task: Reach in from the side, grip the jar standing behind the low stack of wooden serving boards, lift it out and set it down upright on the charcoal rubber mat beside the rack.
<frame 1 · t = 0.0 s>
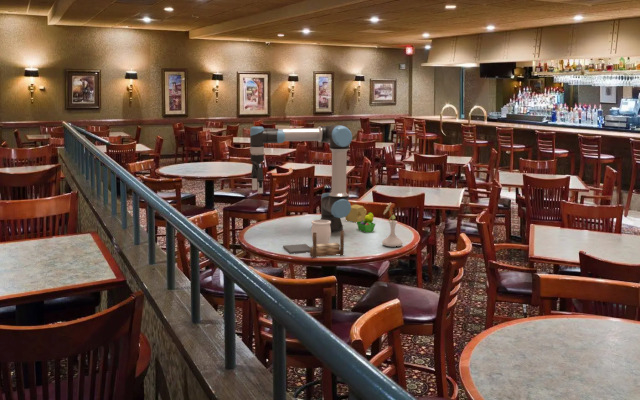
hand: (257, 191, 365), 28 cm above the table, tool pointing down, fingers open, 13 cm apart
mat: (298, 249, 347), on the table
cheese: (355, 221, 425), on the table
jar: (320, 248, 351), on the table
board rack: (326, 254, 337), on the table
flower in vase: (391, 246, 357), on the table
fruit basket: (366, 231, 395), on the table
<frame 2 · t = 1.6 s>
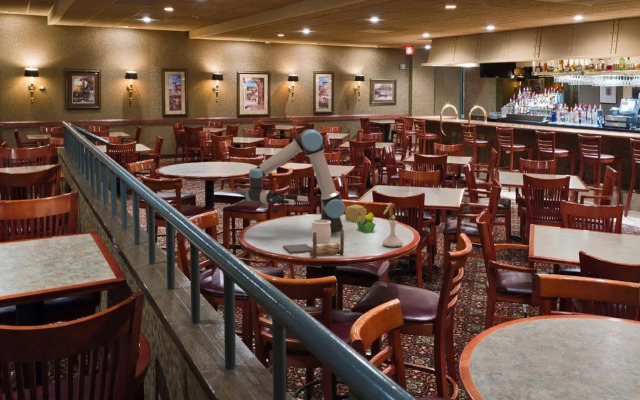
hand: (300, 200, 359), 24 cm above the table, tool horizontal, fingers open, 13 cm apart
nothing on the table moved.
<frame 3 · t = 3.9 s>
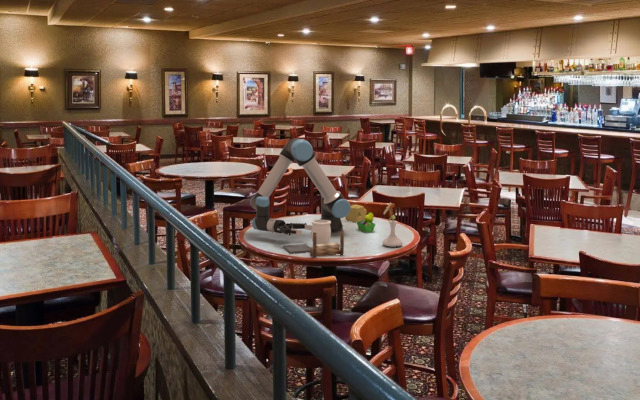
hand: (308, 230, 353), 9 cm above the table, tool horizontal, fingers open, 13 cm apart
nothing on the table moved.
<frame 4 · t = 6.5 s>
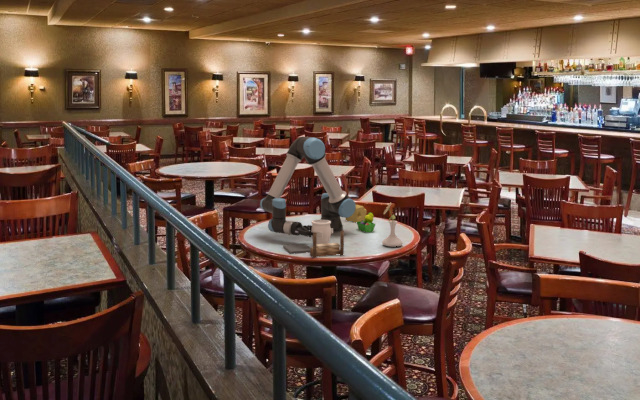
hand: (327, 232, 347), 9 cm above the table, tool horizontal, fingers closed on jar, 10 cm apart
jar: (320, 248, 351), on the table, touching gripper
everything else where it was.
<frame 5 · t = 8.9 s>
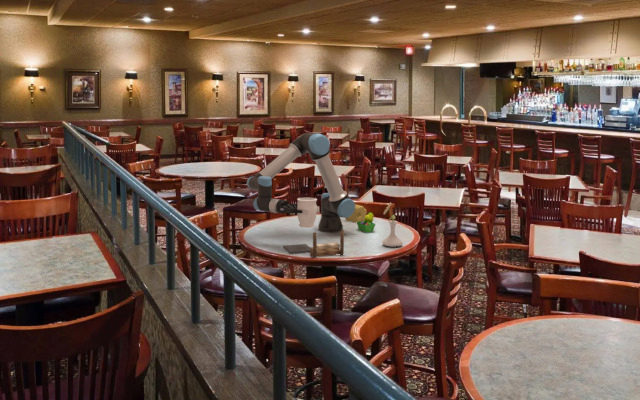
hand: (313, 210, 342), 22 cm above the table, tool horizontal, fingers closed on jar, 10 cm apart
jar: (306, 226, 346), point 13 cm above the table, touching gripper
everything else where it was.
when the fingers open (12 cm above the table, at t = 11.5 s): jar drops 1 cm, resting on mat.
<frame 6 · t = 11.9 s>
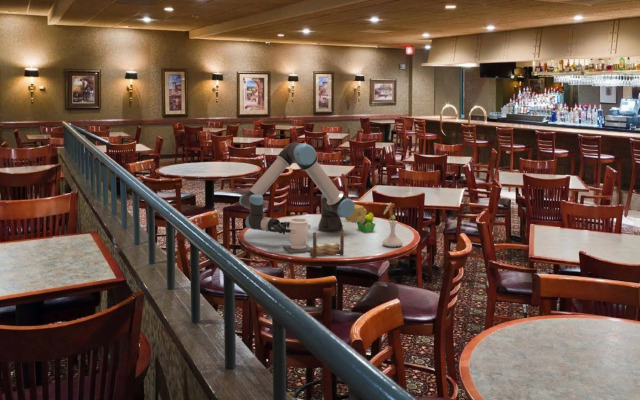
hand: (303, 229, 343), 12 cm above the table, tool horizontal, fingers open, 13 cm apart
jar: (298, 247, 347), point 1 cm above the table, touching mat
everything else where it was.
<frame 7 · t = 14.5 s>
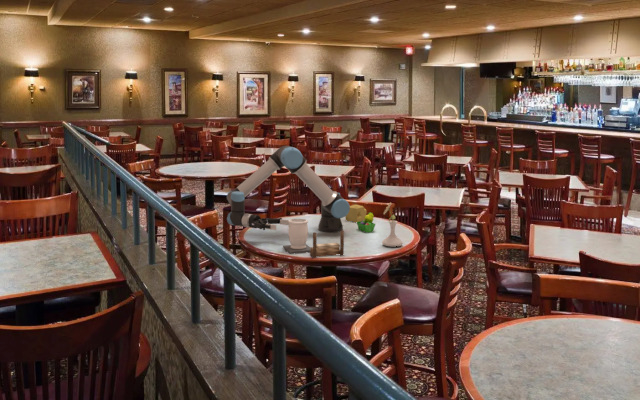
hand: (283, 225, 350), 12 cm above the table, tool horizontal, fingers open, 13 cm apart
nothing on the table moved.
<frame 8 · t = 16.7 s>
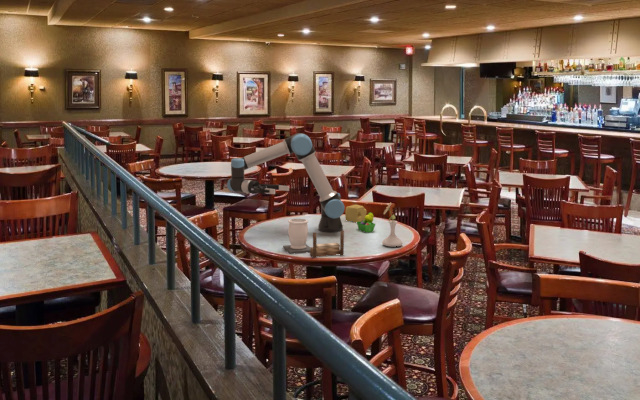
hand: (281, 190, 358), 30 cm above the table, tool horizontal, fingers open, 13 cm apart
nothing on the table moved.
at the end: jar 0.1 cm from the mat (horizontally); jar tilted 0°; the gripper is holding nothing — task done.
